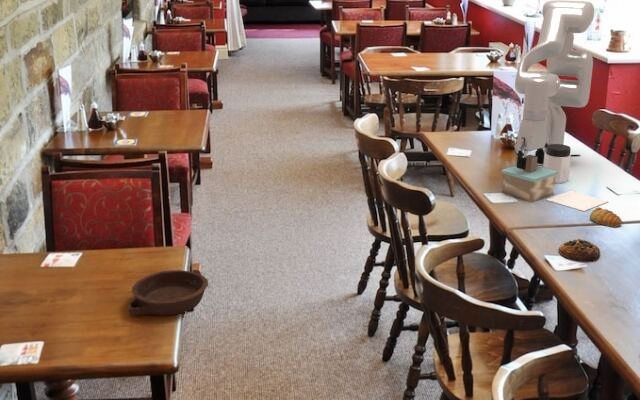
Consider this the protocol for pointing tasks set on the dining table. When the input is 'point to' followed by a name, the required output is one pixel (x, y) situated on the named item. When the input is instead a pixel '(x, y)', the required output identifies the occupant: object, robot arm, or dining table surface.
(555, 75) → the robot arm
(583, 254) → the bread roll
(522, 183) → the box
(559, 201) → the mat
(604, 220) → the pastry
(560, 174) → the jar
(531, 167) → the lid
